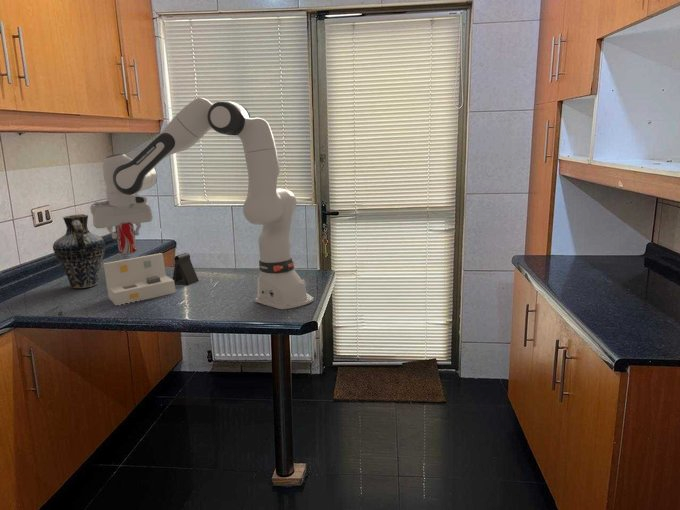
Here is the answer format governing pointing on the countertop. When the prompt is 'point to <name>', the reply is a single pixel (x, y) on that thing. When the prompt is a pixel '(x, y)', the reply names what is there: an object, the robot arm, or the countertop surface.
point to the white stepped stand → (137, 279)
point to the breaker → (153, 279)
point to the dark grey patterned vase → (80, 252)
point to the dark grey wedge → (184, 270)
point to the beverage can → (126, 238)
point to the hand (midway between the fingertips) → (125, 236)
